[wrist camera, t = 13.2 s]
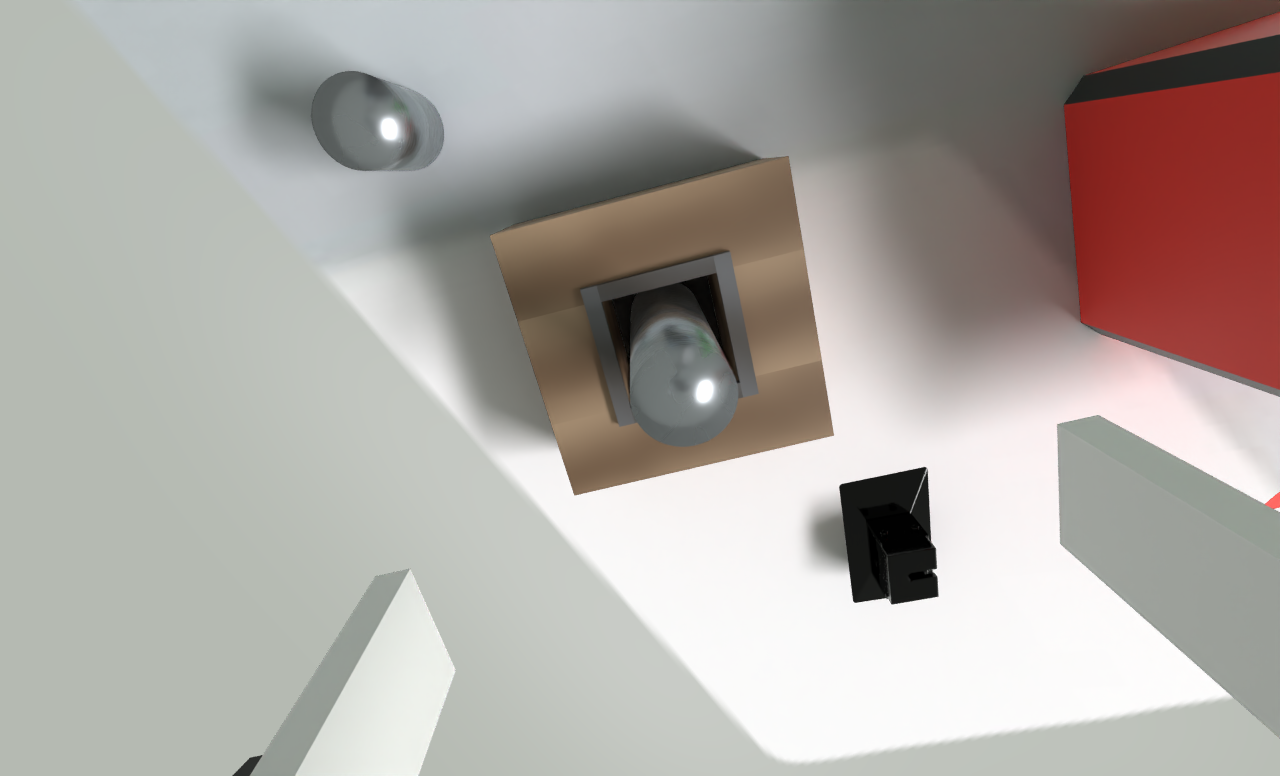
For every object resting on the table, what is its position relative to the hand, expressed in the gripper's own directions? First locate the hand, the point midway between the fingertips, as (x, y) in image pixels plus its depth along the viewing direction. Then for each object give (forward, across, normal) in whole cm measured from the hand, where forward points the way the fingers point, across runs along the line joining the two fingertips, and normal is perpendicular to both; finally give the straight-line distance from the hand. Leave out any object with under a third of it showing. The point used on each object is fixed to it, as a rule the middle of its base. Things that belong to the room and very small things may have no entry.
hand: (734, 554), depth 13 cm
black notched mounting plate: (+25, +10, -19) cm, 33 cm away
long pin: (+25, 0, -1) cm, 25 cm away
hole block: (+25, 0, -1) cm, 25 cm away
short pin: (+25, -11, +12) cm, 30 cm away
